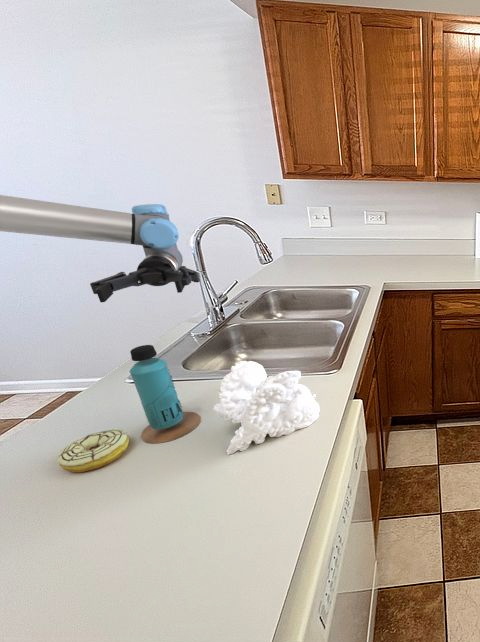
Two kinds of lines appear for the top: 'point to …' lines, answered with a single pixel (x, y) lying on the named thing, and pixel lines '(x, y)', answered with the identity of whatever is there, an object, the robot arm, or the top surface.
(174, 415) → the beverage bottle
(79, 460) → the decorated donut
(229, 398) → the white ornate sculpture
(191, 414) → the cork coaster
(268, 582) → the top surface
